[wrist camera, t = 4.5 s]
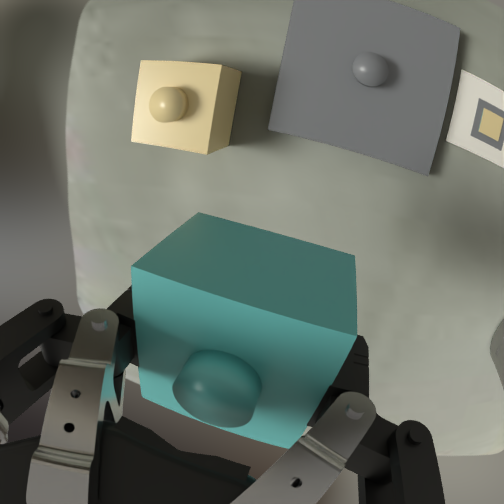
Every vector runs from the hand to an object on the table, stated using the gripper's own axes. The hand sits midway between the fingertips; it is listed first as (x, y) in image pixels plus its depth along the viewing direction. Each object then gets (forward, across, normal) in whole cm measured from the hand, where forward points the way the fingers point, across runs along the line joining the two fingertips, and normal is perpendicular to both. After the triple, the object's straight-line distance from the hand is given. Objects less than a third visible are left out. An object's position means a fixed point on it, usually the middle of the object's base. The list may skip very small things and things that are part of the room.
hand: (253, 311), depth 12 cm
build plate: (+14, -3, -11) cm, 18 cm away
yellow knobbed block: (+14, +9, -6) cm, 18 cm away
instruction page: (+14, -13, -11) cm, 22 cm away
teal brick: (+1, 0, 0) cm, 1 cm away
